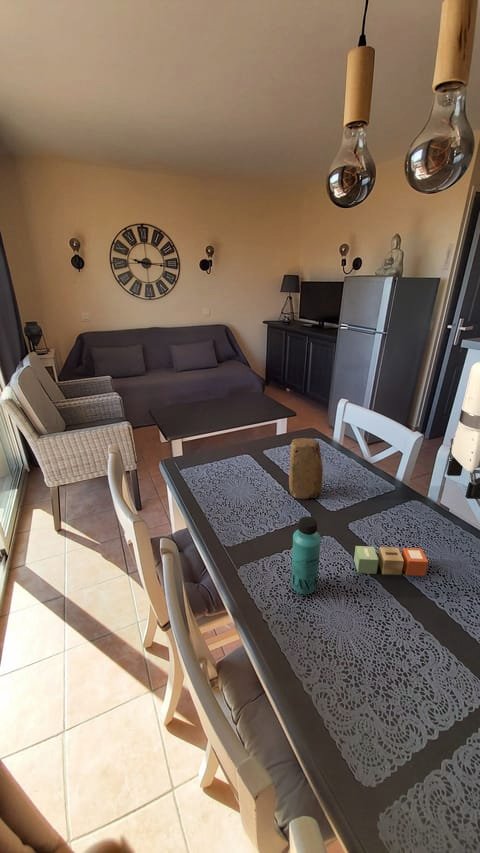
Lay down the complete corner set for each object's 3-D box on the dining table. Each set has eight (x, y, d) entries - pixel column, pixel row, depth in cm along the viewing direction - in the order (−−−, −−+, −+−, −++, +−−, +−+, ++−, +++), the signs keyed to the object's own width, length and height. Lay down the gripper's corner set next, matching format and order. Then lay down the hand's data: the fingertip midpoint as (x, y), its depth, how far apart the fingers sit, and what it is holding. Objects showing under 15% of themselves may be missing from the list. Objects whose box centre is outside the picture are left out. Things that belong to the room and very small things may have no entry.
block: (288, 499, 120) (290, 445, 112) (288, 487, 127) (290, 435, 119) (321, 501, 119) (325, 447, 111) (320, 488, 125) (323, 436, 117)
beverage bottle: (284, 587, 87) (286, 520, 79) (302, 573, 91) (306, 508, 83) (305, 604, 82) (309, 535, 74) (323, 589, 86) (329, 521, 78)
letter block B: (371, 560, 94) (374, 546, 92) (376, 573, 90) (378, 559, 88) (353, 559, 95) (355, 545, 93) (357, 573, 90) (359, 558, 89)
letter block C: (418, 562, 93) (421, 548, 91) (425, 576, 89) (428, 561, 87) (400, 561, 94) (402, 547, 92) (405, 575, 89) (408, 560, 87)
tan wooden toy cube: (395, 561, 94) (398, 547, 92) (401, 575, 89) (404, 560, 88) (377, 560, 94) (379, 546, 92) (382, 574, 90) (384, 559, 88)
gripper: (523, 436, 70) (500, 509, 77) (477, 405, 86) (462, 468, 93) (482, 435, 71) (463, 507, 78) (444, 405, 86) (431, 467, 93)
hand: (462, 486), depth 85 cm, fingers open, 9 cm apart
